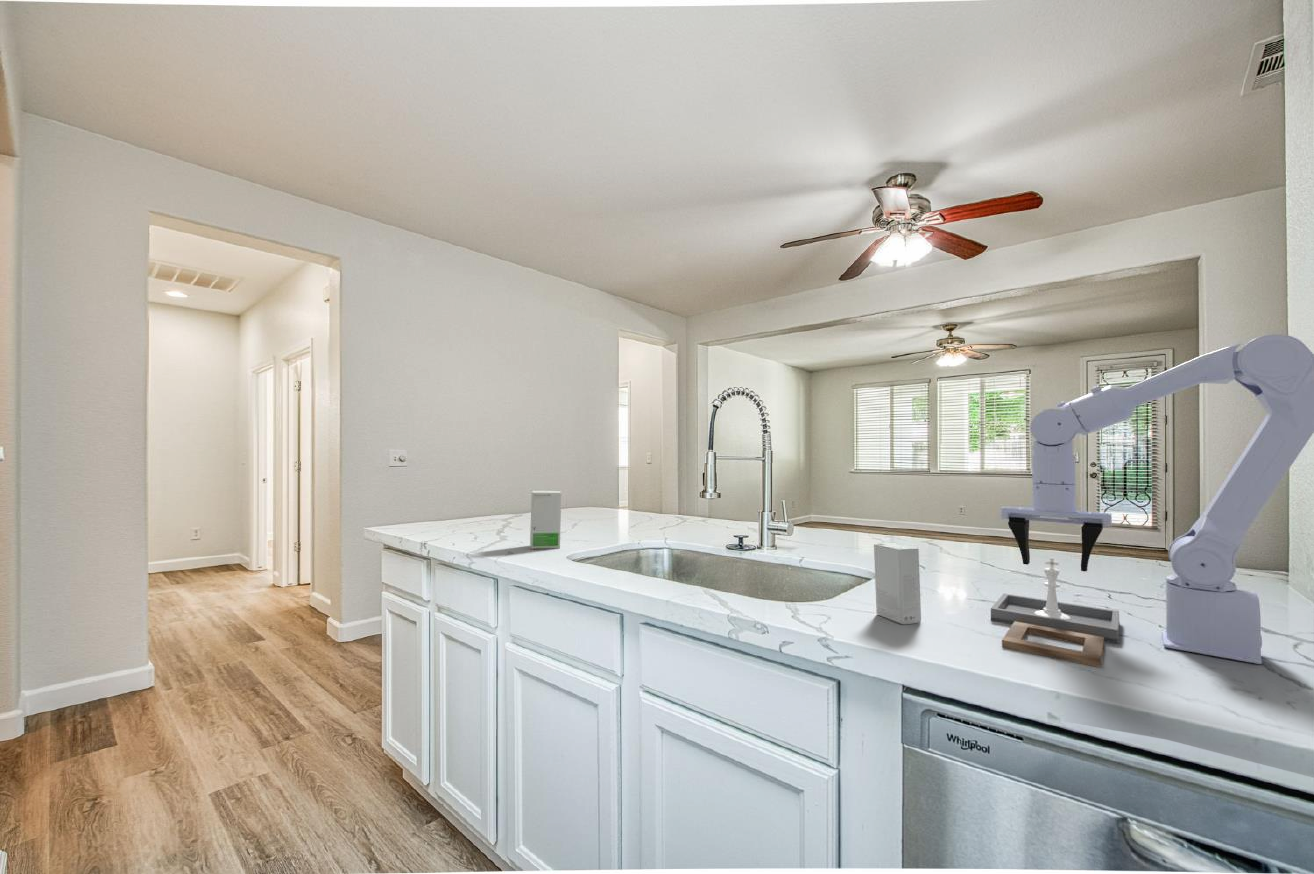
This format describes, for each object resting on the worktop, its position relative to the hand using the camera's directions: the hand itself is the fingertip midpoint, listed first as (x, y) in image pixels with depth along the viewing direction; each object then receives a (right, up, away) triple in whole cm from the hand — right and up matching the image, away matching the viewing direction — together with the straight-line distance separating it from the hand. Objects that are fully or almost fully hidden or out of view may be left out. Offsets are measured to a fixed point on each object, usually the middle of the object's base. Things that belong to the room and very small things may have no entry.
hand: (1054, 566), depth 90 cm
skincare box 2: (-25, -9, +2) cm, 27 cm away
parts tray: (0, -9, 0) cm, 9 cm away
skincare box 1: (-96, -10, +65) cm, 116 cm away
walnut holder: (-8, -9, -11) cm, 16 cm away
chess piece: (-1, -9, -1) cm, 9 cm away
